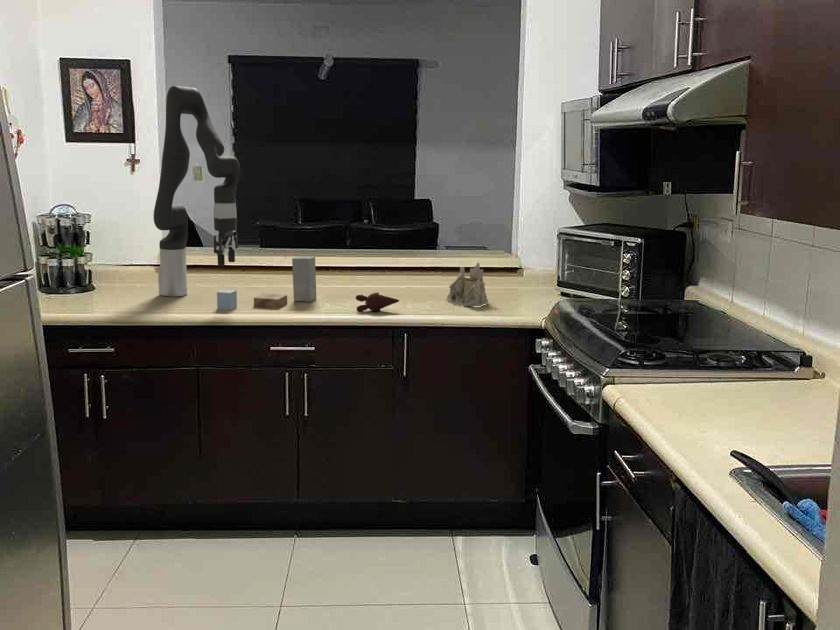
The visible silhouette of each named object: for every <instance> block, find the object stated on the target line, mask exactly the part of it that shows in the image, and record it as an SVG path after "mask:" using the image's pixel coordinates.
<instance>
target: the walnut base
mask: <svg viewBox="0 0 840 630" xmlns="http://www.w3.org/2000/svg"><path fill="white" fill-rule="evenodd" d="M287 304H288V294H276V293H266V292H264V293H261V294H259V295H257V296H254V297H253V308H254V307H255V308H268V309H280V308H281V307H283V306H285V305H287Z"/></svg>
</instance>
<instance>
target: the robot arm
mask: <svg viewBox="0 0 840 630" xmlns="http://www.w3.org/2000/svg"><path fill="white" fill-rule="evenodd" d="M165 101H166V102H165V129H164V141H163V149H162V156H161V165H160V168H161V169H160V177H159V184H158V188H157V194H156V195H157V196H156V200H155V203H154V209H153V222H154V223H153V224H154V226H155V227H156V228H157V229H158V230H159V231H168V234H167V235H166V236H165V237H164V238H162V239H161V240H159V245H158V246H159V266H160V268H158V270H157V279H158V295H159V296H162V297H170V298H171V297H183V296H184V297H185V296H186V295H188V277H187V275H188V274H187V250H186V249H187V248H186V247H187V245H186V244H187V242H188V237H189V236H188V235H189V234H188V233H189V232H188V227H189V217H188V212H187V209H186V207H185V206H184V205H183V204H180V203H173V202H174V198H175V194H176V191H177V190H178V188H179V187H180V185H181V183H182V182H183V181H184V179H185V178H186V175H188V171H189V165H190V158H191V157H190V155H191V152H190V149H189V145H188V143H187V140H186V139H185V137H184V134H183V132H182V128H181V116H182V114H183V115H192V116H193V117H194V118H195V120H196V122H197V126H196V131H195V138H196V141H197V144H198V145H199V147H200V149H201V150H202V152H203V154H204V158H205V163H206V168H207V172H208V173H209V174H210V176H212V177H214V178H217V179H219V178H224V180H223V182H222V183H221V184H218V185H217V184H216V185H215V186H214V188H213V200H214V201H213V202H214V204H213V228H214V230H215V232H218V234H217V235H216V234H215V235H213V254H216V256H217V265H218V266H219V267H223V266H225V262H226V261H225V260H226V259H225V256H226V255H225V252H226V250H227V260H228V262H229V263H235V262H236V250H237V249H238V248H239V242H238V241H239V240H238V231H237V230H238V225H237V224H238V221H237V219H238V216H237V215H238V214H237V212H238V211H237V205H236V204H237V202H236V191H237V190H236V189H237V186H238V185H237V184H238V181H239V176H240V173H241V164H240V162H239V159H238V158H237V157H235V156H232V155H223V154H224V153H225V147H224V146H225V145H224V143H223V141H222V140H221V138H220V137H219V134H218V133H217V132H216V130H215V128H214V125H213V123H212V121H211V118H210V115H209V111H208V109H207V106H206V104H205V100H204V98H203V96H202V94H201V92H200V90H198V89H197V88H196V87H193V86H192V87H191V86H181V85H171V86H170V88H168V91H167V93H166V100H165ZM222 155H223V156H222Z"/></svg>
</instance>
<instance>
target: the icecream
mask: <svg viewBox="0 0 840 630" xmlns="http://www.w3.org/2000/svg"><path fill="white" fill-rule="evenodd" d="M355 300H356V301H358V302H362V303H363V302H365V303H364V304H359V305H358V306H357V307H356V311H358V312H364V311H366V310H368V309H369V310H370V311H372V312H376V311H377V312H379V311H380V312H381V309H384V308H386V307H389V306H392V305H393V304H396V303H399V302H400V299H397V298H393V297H390V296H387V295H382V294H380V293H379V291H377V292H374V293H371V294H369V295H368V296H366V295H363V294H357V295H356V296H355Z"/></svg>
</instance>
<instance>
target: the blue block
mask: <svg viewBox="0 0 840 630" xmlns="http://www.w3.org/2000/svg"><path fill="white" fill-rule="evenodd" d="M237 294H238V293H237V290H233V289H221V290H219V291H216V300H217V301H216V308H217V310H222V309H224V310H223V311H232V310H235V309H236V307H237V308H238V304H237V303H238V298H237V297H238V295H237Z"/></svg>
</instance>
